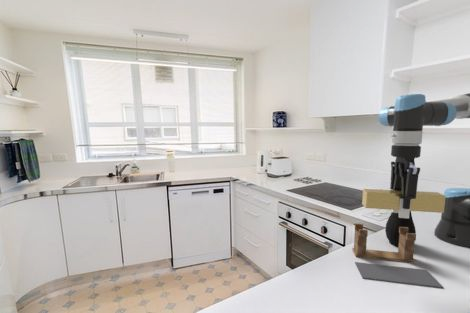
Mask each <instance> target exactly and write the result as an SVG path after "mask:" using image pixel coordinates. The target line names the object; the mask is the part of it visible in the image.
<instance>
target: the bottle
mask: <svg viewBox="0 0 470 313" xmlns="http://www.w3.org/2000/svg"><path fill="white" fill-rule="evenodd" d="M398 216H399V213H393V212H392V211H391V213H390V215H389V217H388V219H387V221H386V223H385V236H386V239H387V240H388V242H389V244H390V245H391V246H394V247H396V248H398V246H399V235H400V233H399V227H408V228H409V229H408V233H415V234H416V233H417V231H416V227H415V223H414V220H413V216H412V211H410V214H409V219H408V218H399V217H398ZM416 235H417V234H416Z"/></svg>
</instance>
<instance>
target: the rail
mask: <svg viewBox="0 0 470 313" xmlns="http://www.w3.org/2000/svg"><path fill="white" fill-rule="evenodd" d="M399 196H400V197H402V191H400V190H391V189H372V188H363V189H362V202H361V204H362V206H363V207H364V208H365V209H374V210H375V209H376V210H391V211H392V210H399V204H400V198H399ZM445 197H446V196H445V195H444V193H443V194H442V193H440V192H437V191H419V190H417V192H416V199H411V203H410V211H411V212H421V213H423V212H424V213H426V212H427V213H437V214H438V213H439V214H442V213H444V206H445Z"/></svg>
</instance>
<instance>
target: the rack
mask: <svg viewBox="0 0 470 313" xmlns="http://www.w3.org/2000/svg"><path fill="white" fill-rule="evenodd" d="M408 229H409V228H408V227H399V233H400V235H399V246H398V247H397V248H398V249H397V251H389V250H375V249H367V241H368V240H367V239H368V233H369V232H368V229H364V224H363V223H356V222H355V223H354V241H353V247H352V248H351V250H352V253H353V254H354V256H355V257H356V258H362V259H363V258H364V259H374V260H382V261H392V262H401V263H410V264H412V263H413V264H415V262H416V261H415V259H414V253H415V242H416V241H417V234H415V233H408Z"/></svg>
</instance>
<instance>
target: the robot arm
mask: <svg viewBox="0 0 470 313" xmlns="http://www.w3.org/2000/svg"><path fill="white" fill-rule="evenodd" d="M455 119H457V120H463V119H470V92H469V93H464V94H458V95H455V96H453V97H452V98H447V99H439V100H433V101H427V100H426V95H425V94H423V93H414V94H413V93H410V94H401V95H399V96H397V97H396V98H395V103H394V106H393V105H391V106H387V107H386V106H385V107H384V108H383V107H382V109H381V110H380V111H379V114H378V121H379V123H380V124H381V125H383V126H384V127H393V128H392V134H391V138H392V140H391V142H392V145H391V153H390V154H391V157H394V158H395V161H391V162H390V168H391V169H390V170H391V171H390V186H389V187H390V188H389V190H400V191H402V197H400V196H399V198H400V204H399V210H391V213H392V212H393V213H399V216H398V217H399V218H408V219H409V214H410V203H411V199H416V192H417V191H418V184H419V183H418V182H419V175H420V172H421V168H420V167H416V163H415V159H418V158H420V157H421V151H422V147H421V144H422V141H423V140H422V139H423V128H424V126H426V127H427V126H429V127H430V126H431V127H433V126H435V127H441V126H446V125H449V124H451V123H452V122H454V120H455ZM443 195H445V196H446V197H445V206H444V213H440V214H441V216H440V220H439V222H438V223H437V225H436V227H435V229H434V236H435V237H436V238H437V239H439V240H441V241H443V242H445V243H448V244H451V245H455V246H460V247H464V248H470V188H468V187H450V188H446V189H445V190H444V192H443Z"/></svg>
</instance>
